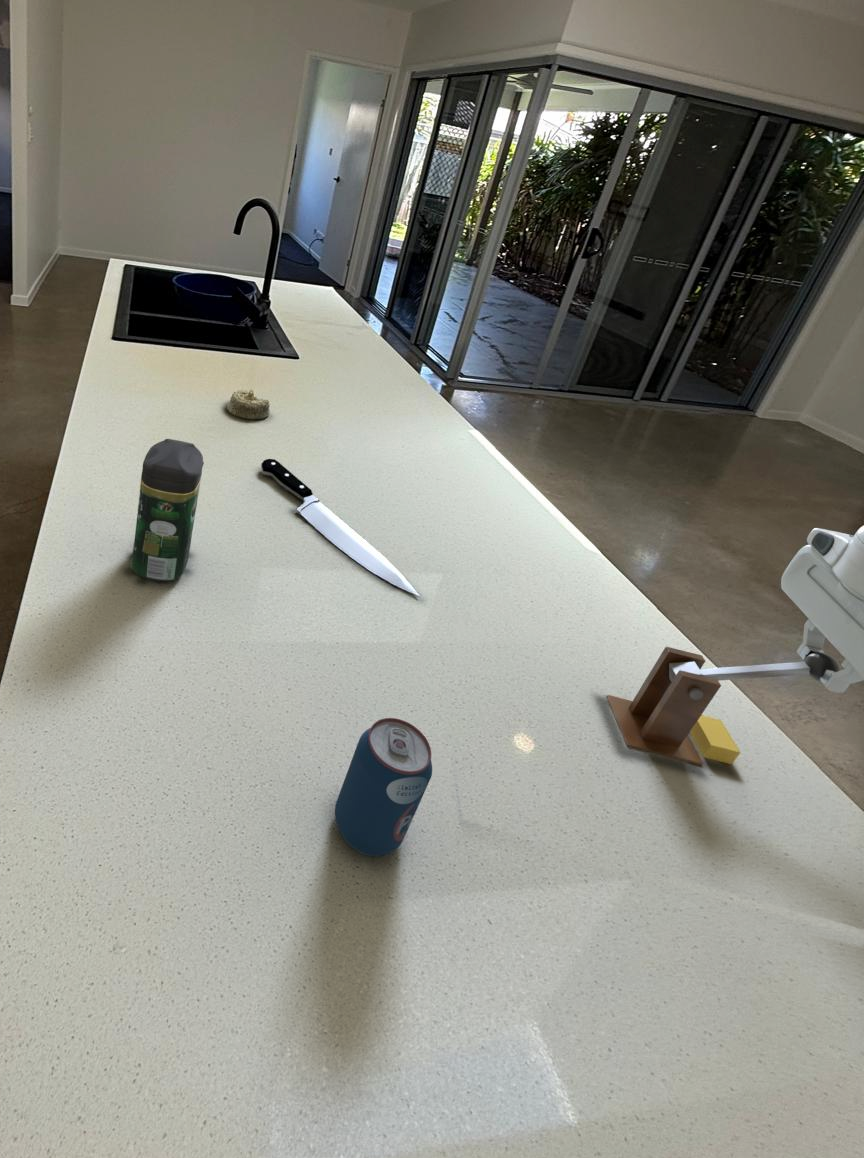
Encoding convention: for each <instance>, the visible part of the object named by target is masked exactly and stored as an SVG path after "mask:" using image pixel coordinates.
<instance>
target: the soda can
mask: <svg viewBox="0 0 864 1158" xmlns="http://www.w3.org/2000/svg"><path fill="white" fill-rule="evenodd" d="M432 775H433V763H432V748H431V745H430V742H429V741H428V739H427V738H426V736H425V735H424V734H423V732H421V730H419V728H417V727H416V726H415V725H413V724H411V723H410V722H408V721H406V720H403V719H400V718H396V717H386V718H381V719H378V720H377V721H375V722H374V723H373V724H372V725H371V727H369V728H368V729H366V730H364V732H363V733H362V734H361V735H360V736H359V739H358V741H357V744H356V747H355V750H354V753H353V756H352V757H351V761H350V764H349V766H348V769H347V772H346V774H345V778H344V780H343V783H342V785H341V788H340V791H339V793H338V797H337V798H336V802H335V805H334V806H335V807H334V816H335V821H336V825H337V828H338V830H339V832H340V834H341V836H342V838H343V840H344V841H345V842H346V843H347V844H348V845H349V846H350V847H351V848H352V849H353V850H355V851H356V852H358V853H360V854H362V855H365V856H367V857H368V856H369V857H379V856H385V855H386V856H387V855H389V854H391V853H393V852H395V851H396V850H397V849H399V847H400V846H401V845H402V844H403V841H404V839H405V837H406V835H407V833H408V830H409V828H410V826H411V824H412V822H413V819H414V817H415V815H416V812H417V809H418V808H419V806H420V804H421V801H422V799H423V796H424V795H425V792H426V790H427V789H428V785H429V783H430V781H431V779H432Z"/></svg>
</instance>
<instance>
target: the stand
mask: <svg viewBox="0 0 864 1158" xmlns="http://www.w3.org/2000/svg"><path fill="white" fill-rule="evenodd" d="M693 661H695V663H696V664H697V666H698V668H699V669H702V668H703V666H704V664H705V663H706V659H705V658H704V656H703V654H698V653H694V652H690V651H686V650H681V649H678V648H674V647H670V646H665V647H664V649H663V650H662V652H661V653H660V655H659V656H658V659H657V660H656V661H655V664H654V665H653V667H652V669H650V671H649V674H648V675H647V677H646V678H645V680H644V682H643V683H642V685H641V687H640V688H639V690H638V692H637V693H636V695H635V696H634V698H633V700H629V699H626V698H621V697H617V696H614V695H611V694H606V695H605V698H606V700H607V702H608V705H609V708H610V709H611V712H612V714H613V717H614V719H615V721H616V724H617V726H618V728H619V732H620V734H621V736H622V738H623V741H624V743H625V746H626V747H628V748H632V749H637V750H641V751H644V752H648V753H651V754H655V755H660V756H663V757H667V758H671V759H674V760H679V761H683V762H687V763H690V764H694V765H699V766H703V765H704V762H703V761H702V759H701V757H700V755H699V754H698V751H697V750H696V747H695V746H694V744H693V741H692V740H691V738H690V736H689V734H690V731H691V729H692V728H693V726H694V725H695V724H696V722H697V721H698V719H699V718H700V716H701V715H703V713H704V712H705V710H706V709H707V707H708V706H709V704H710V703H711V701H712V700H713V699H714V697H715V696H716V694H717V693H718V691H719V690H720V688H721V687H722V684H721V683H720V681H718V680H717V679H713V678H709V677H705V676H701V675H697V674H693V673H689V672H685V671H681V670H679V672H678V673H677V675H676V676H675V678H674V679H673V681H672V682H671V680H670V679H669V663H680V662H693Z"/></svg>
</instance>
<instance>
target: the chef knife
mask: <svg viewBox="0 0 864 1158" xmlns="http://www.w3.org/2000/svg"><path fill="white" fill-rule="evenodd" d="M260 469H261V474H262V475H264V476H267V477H270V478H272V479H274V480H275V481H276V482H277V484H279V485H280V487H282V488H283V489H285V490H286V491H287V492H289V493H290V494H291V495H293V496H294V497H295V498H296V499H298V500H299V501H300V502H302V504H301V505H300V506H299V507H297V508H296V509H295V510H296V511H295V512H296V514H297V515H298V516H301V517H302V518H303V519H304V520H305V521H306V522H308V523H309V524H310V525H311V526H312V527H314V529H316V530H317V531H318V532H319V533H320V534H322V535H323V537H325V538H326V540H328V541H330V542H331V543H332V544H333V545H334V546H336V547H337V549H340V550H341V551H342V552H343V553H344V554H346V555H347V556H348V557H349V558H351V559H352V560H354V561H355V562H357V563H358V564H359V565H360V566H362V567H364V568H365V569H366V570H368V571H369V572H371V573H372V574H374V575H376V576H378V577H379V578H381V579H383V580H384V581H386V582H388V583H389V584H391V585H393V586H395V587H397V588H400V589H402V590H403V591H406V592H408V593H410V594H413V595H416V596H419V597H420V594H419V593H418V592H417V590H416V589H415V588H414V587H413V586H412V584H411V583H410V582H409V581H408V579H407V578H406V577H405V576H404V574H402V572H400V570H398V568H396V566H394V565H393V564H392V563H391V561H389V559H388V558H386V557H385V556H384V555H383V554H382V553H381V552H379V551H378V550H377V549H376V548H375V547H374V546H373V545H372V544H370V543H369V542H367V540H365V539H364V538H363V537H362V536H361V535H360V534H358V533H357V532H356V530H354V529H353V528H351V527H350V526H349V525H348V524H347V523H345V521H343V520H342V519H341V518H340V517H339V516H337V515H336V514H335V513H334V512H332V511H331V510H330V509H329V508H328V507H327V506H325V505H324V504H323V502H321V501H320V499H319V498H318V497H317V496H315V494H314V493H313V491H312V489H311V488H309V486H308V485H306V484H305V483H303V481H301V480H300V479H299V478H298V477H297V476H296V475H295V474H294V473H292V472H291V471H290V470H288V469H287V468H286V467H285V466H284V465H282V463H281V462H279V461H278V460H276V459H275V458H266V459H264V460H263V461H261V463H260Z"/></svg>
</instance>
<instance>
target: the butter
mask: <svg viewBox="0 0 864 1158" xmlns="http://www.w3.org/2000/svg"><path fill="white" fill-rule="evenodd" d="M689 734H690V736H691V737H692V740H693V741H694V743H695V745H696V747H697V749H698V751H699V753H700V755H701V756H702V757H703V758H706V759H709V760H714V761H717V762H720V763H724V764H728V765H733V763H735V761H736V759H737V758H738V757H739V755H740V754H741V751H740V749H739V748H738V746H737V744H736V743H735V741H734V739H733V738H732V736H731V734H730V733H729V731H728V729H727V728H726V726H725V723H724V722H723V721H722V720H721V719H719V718H714V717H711V716H707V715H703V714H702V715H701V716H700V718H699V719H698V721H697V722H696V724H695V725H694V726H693V728H692V729H691V731H690V732H689Z"/></svg>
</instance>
